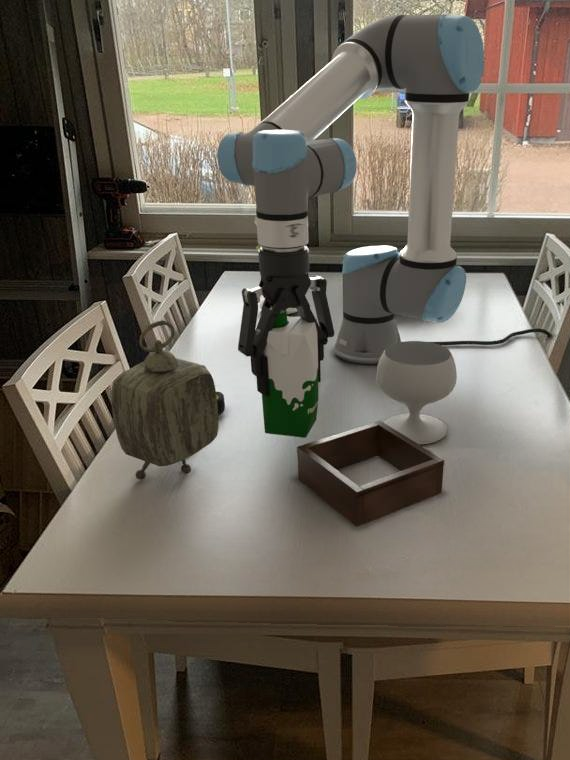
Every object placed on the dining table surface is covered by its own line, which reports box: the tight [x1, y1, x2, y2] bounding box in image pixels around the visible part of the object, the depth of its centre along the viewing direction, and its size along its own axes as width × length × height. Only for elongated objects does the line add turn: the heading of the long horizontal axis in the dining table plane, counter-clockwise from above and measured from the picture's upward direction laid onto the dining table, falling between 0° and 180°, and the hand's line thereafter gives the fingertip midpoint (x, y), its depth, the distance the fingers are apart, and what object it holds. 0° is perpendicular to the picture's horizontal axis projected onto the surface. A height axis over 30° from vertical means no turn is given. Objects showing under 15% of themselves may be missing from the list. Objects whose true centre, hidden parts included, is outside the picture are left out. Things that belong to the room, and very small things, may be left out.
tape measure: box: [216, 391, 226, 417], centre depth 137 cm, size 7×7×4 cm
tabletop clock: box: [110, 320, 219, 481], centre depth 113 cm, size 14×9×25 cm, turn 149°
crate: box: [296, 420, 445, 528], centre depth 114 cm, size 16×16×6 cm
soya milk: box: [255, 307, 319, 439], centre depth 118 cm, size 9×9×20 cm
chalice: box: [376, 340, 458, 445], centre depth 129 cm, size 14×14×15 cm
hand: (289, 386), depth 119 cm, fingers closed on soya milk, 9 cm apart
